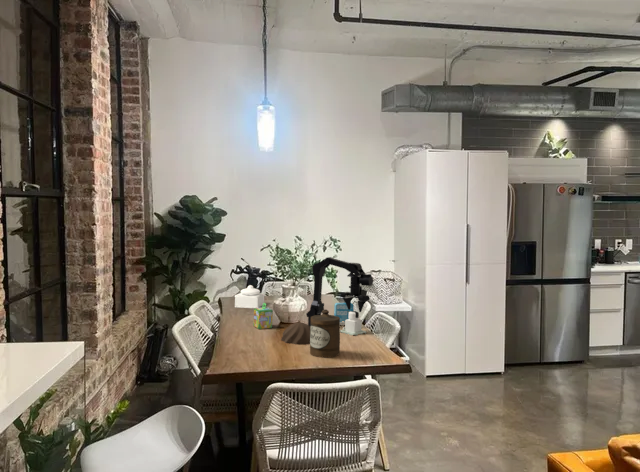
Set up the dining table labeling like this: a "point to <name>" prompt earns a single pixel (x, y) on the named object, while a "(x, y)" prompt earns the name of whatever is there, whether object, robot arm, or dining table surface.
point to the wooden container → (325, 335)
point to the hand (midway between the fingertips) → (354, 310)
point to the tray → (352, 333)
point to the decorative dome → (297, 334)
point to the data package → (342, 311)
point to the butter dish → (249, 298)
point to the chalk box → (263, 317)
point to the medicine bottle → (353, 323)
